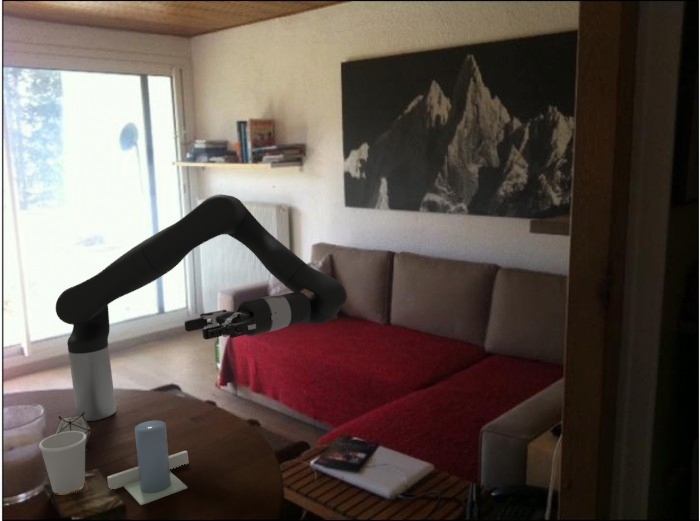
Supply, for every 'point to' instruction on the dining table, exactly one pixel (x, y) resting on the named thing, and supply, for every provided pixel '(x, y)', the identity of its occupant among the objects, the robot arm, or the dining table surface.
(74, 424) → the grey faceted polyhedron
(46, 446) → the dixie cup
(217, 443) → the dining table surface
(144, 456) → the pale blue cylinder
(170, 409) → the dining table surface
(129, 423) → the dining table surface
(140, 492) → the coaster
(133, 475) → the white long bar
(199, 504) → the dining table surface
